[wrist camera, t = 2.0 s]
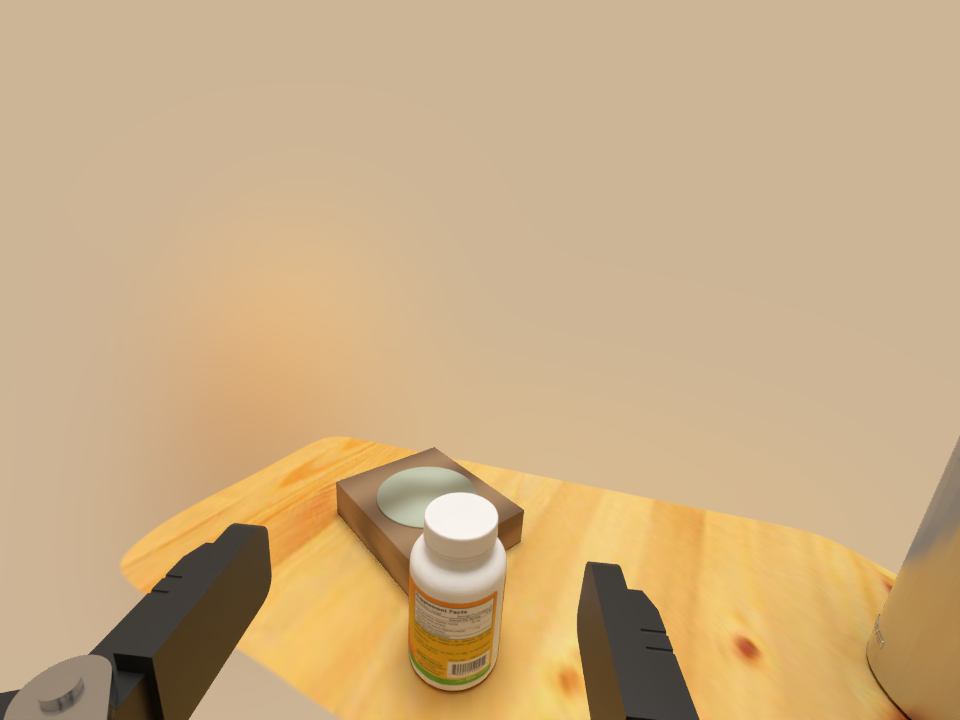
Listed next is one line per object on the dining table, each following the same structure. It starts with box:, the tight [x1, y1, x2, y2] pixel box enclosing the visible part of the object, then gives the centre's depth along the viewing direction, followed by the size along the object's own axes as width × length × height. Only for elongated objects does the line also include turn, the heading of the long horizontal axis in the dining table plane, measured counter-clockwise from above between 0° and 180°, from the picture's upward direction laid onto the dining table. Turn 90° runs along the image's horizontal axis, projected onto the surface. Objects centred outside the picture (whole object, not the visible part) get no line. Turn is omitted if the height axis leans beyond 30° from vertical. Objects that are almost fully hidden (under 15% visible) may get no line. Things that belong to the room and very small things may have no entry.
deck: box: [336, 447, 524, 596], centre depth 37 cm, size 12×10×3 cm
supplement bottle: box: [408, 492, 507, 691], centre depth 25 cm, size 5×5×10 cm
